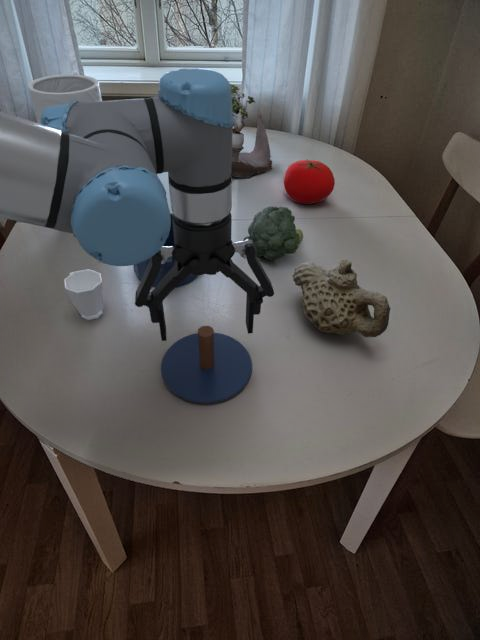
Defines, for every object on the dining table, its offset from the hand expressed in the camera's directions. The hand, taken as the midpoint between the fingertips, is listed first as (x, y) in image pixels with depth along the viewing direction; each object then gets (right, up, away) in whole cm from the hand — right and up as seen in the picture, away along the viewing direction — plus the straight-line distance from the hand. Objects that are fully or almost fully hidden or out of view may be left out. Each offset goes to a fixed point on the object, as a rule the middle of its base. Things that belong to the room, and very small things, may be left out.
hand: (207, 331), depth 69 cm
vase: (-32, +27, +41) cm, 58 cm away
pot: (-11, +13, +27) cm, 32 cm away
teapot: (+23, +1, +15) cm, 28 cm away
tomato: (+24, +36, +53) cm, 68 cm away
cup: (-25, +4, +17) cm, 30 cm away
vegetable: (+13, +18, +33) cm, 40 cm away
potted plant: (+5, +51, +68) cm, 85 cm away
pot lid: (0, -6, +6) cm, 9 cm away
